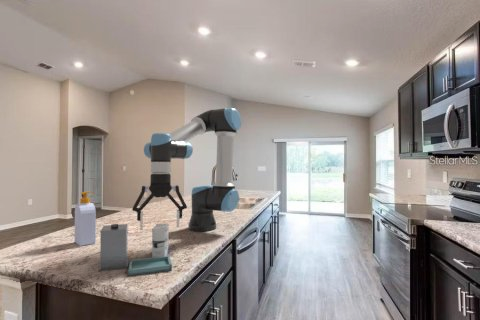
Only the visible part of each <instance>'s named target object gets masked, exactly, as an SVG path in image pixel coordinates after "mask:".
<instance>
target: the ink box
mask: <svg viewBox="0 0 480 320" xmlns="http://www.w3.org/2000/svg"><path fill="white" fill-rule="evenodd" d="M169 227H170V226H169V223H157V224H155V226H153V227H152V228H151V232H152V233H151V234H152V235H151V237H152V238H151V240H152V242H151V245H152V246H151V248H152V249H151V250H152V251H151V258H153V257H162V256H168V254H169V253H170V252H169V249H170V248H169V247H170V246H169V245H170V244H169V238H170V237H169V233H170V232H169Z"/></svg>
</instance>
